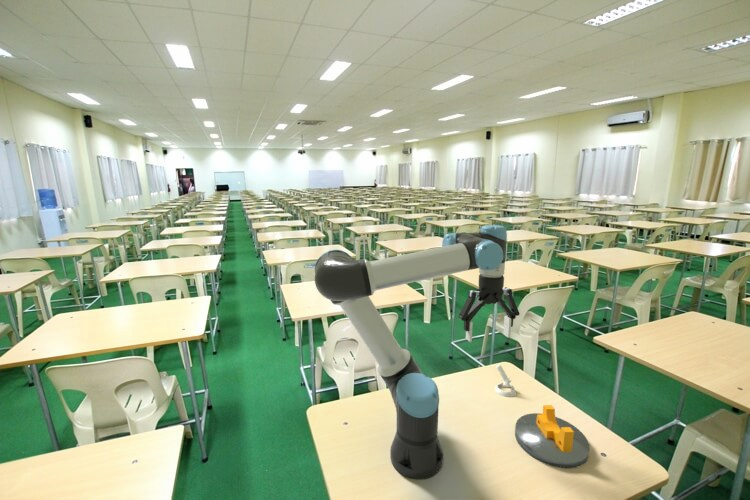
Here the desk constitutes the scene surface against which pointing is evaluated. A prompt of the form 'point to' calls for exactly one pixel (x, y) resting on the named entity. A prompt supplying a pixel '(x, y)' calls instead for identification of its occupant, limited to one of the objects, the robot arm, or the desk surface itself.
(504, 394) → the white ring with handle
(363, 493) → the desk surface
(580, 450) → the dark grey flat disc
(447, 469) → the desk surface
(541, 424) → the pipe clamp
